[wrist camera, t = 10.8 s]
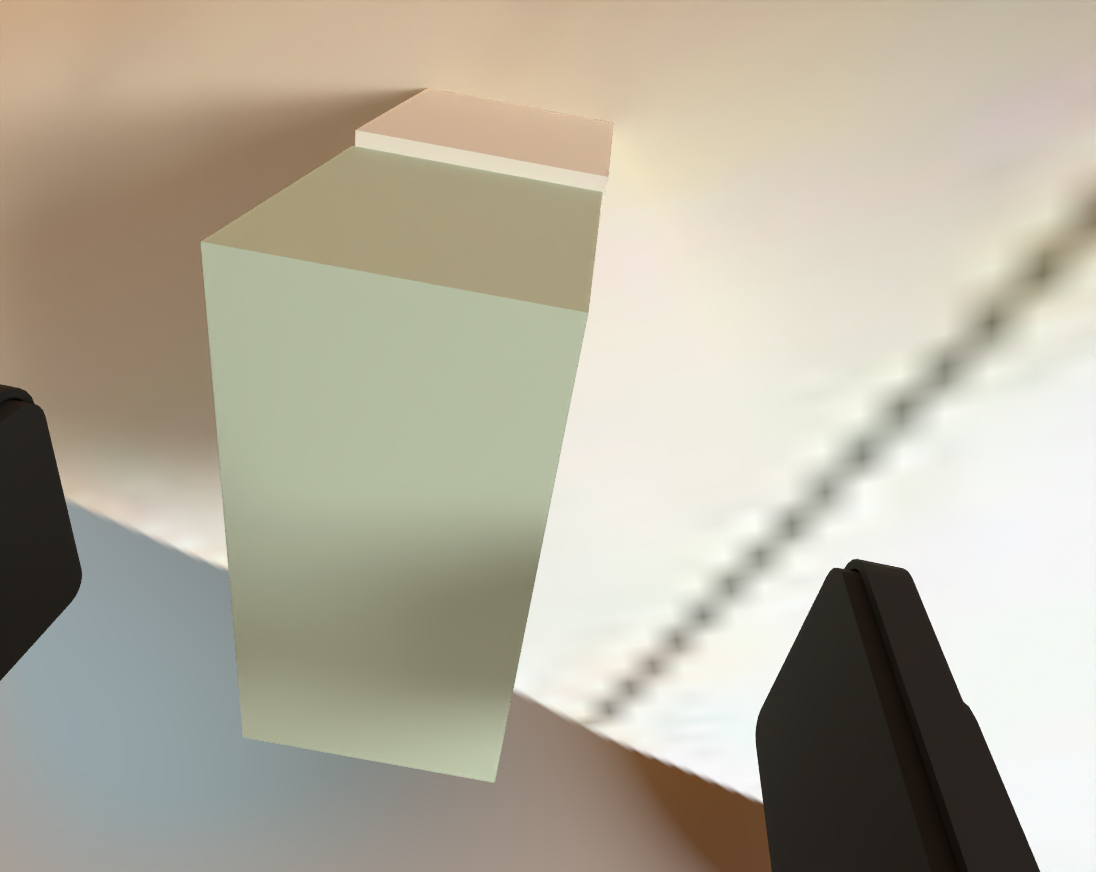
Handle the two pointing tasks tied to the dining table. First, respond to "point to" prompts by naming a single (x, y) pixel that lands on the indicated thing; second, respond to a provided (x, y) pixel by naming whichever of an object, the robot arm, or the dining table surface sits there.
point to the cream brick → (495, 138)
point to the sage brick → (392, 445)
